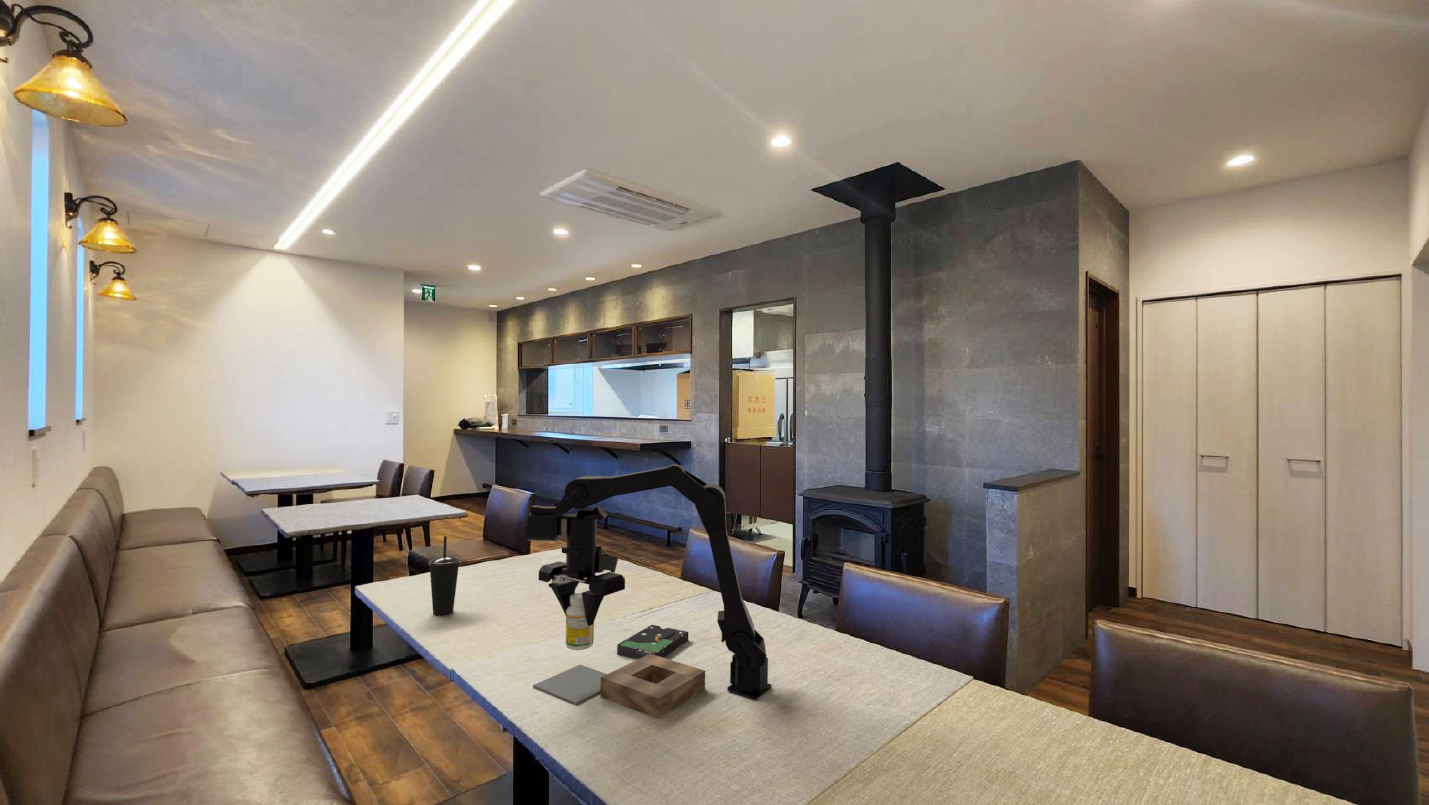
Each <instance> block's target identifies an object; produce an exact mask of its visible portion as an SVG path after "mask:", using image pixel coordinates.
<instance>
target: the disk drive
mask: <svg viewBox="0 0 1429 805" xmlns="http://www.w3.org/2000/svg"><path fill="white" fill-rule="evenodd" d="M688 642H689V631H688V630H680V629H675V628H671V627H667V628H666V627H665V628H662V627H661V626H660V625H656V624H651V625H649V626H647V627H645V628H644V629H642V630H640V631H639V632H637V633H635V634H633V635H631V636H630V637H628V638H627V639H625V640H622V641H621V642H619V643H618V644H616V655H618V656H622V657H625V658H631V659H635V660H638V659H640V658H642V657H644V656H646V655H648V654H653V655H656V656H659V657H663V658H666V657H667V656H669V655H670V654H672V653H673V652H674V651H676V650H677V649H679V648H681V647H682V646H683V645H685V644H686V643H688Z"/></svg>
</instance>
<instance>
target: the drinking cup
mask: <svg viewBox="0 0 1429 805" xmlns="http://www.w3.org/2000/svg"><path fill="white" fill-rule="evenodd" d="M447 538H448V537H447V535H444V536H443V551H442V552H443V553H442V555H440V556H439V555H438V556H436V557H434V558H433V559H430V560H428V565H429V571H430V572H429V574H430V586H431V588H430V589H431V590H430V591H431V603H432V613H433V614H432V615H434V616H439V617H440V616H447V615H451V614H453V613H454V608H455V598H456V591H457V581H458V575H459V565H460V562H461V558H459V557H456V556H454V555H448V554H447Z"/></svg>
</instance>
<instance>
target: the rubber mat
mask: <svg viewBox="0 0 1429 805" xmlns="http://www.w3.org/2000/svg"><path fill="white" fill-rule="evenodd" d="M607 674H608V673H605V672H603V671H600V670H596V669H594V668H591V667H588V666H586V665H583V664H577V665H575V666H572V668H569V669H565V671H562V672H560V673H558V674H556V675H553V676H551V677H547V678H546V679H544V680H542V681H540V682H537V683H535V684H533V685H532V688H534V689H537V690H539V691H541V692H543V693H546V694H548V695H550V694H551V696H553V697H556V698H557V699H560V700H563V701H564V702H567V703H571V704H572V705H575V706H577V705H579V704H581V703H584V702H585V701H587V700H589V699H591V698H593V697H595V696H597V695H599V694H600V687H601V677H602V676H604V675H607ZM596 694H597V695H596Z"/></svg>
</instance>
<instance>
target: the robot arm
mask: <svg viewBox="0 0 1429 805" xmlns="http://www.w3.org/2000/svg"><path fill="white" fill-rule="evenodd" d="M666 487H672V488H673V489H675V490H676V491H677V492H679V493H680V494H681V495H682V496H683V497H684V498H686V499H687V500H688V501H690V502H691V503H693V504H694V506H695V509H696V512H697V514H698V516H699V519H700V522H701V524H702V526H703V528H704V530H705V532H706V533H707V536H708V540H709V545H710V548H711V554H712V558H713V563H714V568H715V571H716V577H717V581H718V585H719V590H720V594H721V595H720V596H721V600H722V602H723V610H718V611H717V621H716V622H717V624H718V628H719V630H720V633H721V643H724V642H725V646H726V648H727V649H728V651H729V652H731V653H732V654H733V655H732V658H731V661H730V665H729V666H730V668H729V669H730V670H729V672H730V673H729V680H730V681H729V684H730V685H729V686H727V689H726V690H727V691H729V692H731V693H733V694H737V695H741V696H743V697H747V698H750V699H753V700H757V699H759V698H760V697H761V696H763V695H764V694H765V693H767V692H768V691H769V690H770V689H772V686H773V685H772V684H771V683H768V682H769V679H768V678H769V658H768V656H767V652H766V651H767V650H766V644H765V643H766V642H765V639H764V637H763V636H762V635H761V634H760V633H759V632H758V631H757V630H756V629H755V624H754V622H753V619H752V617H751V614H750V612H749V609H748V607H747V606H746V603H745V601H744V599H743V596H742V593H741V588H740V584H739V583H740V582H739V578H738V575H737V571H736V570H737V569H736V567H735V566H736V565H735V561H734V558H733V557H734V556H733V553H732V548H731V543H730V540H729V539H730V538H729V534H728V530H727V510H726V509H727V506H726V494H725V491H724V490H723V488H722V487H721V486H719V485H718V484H714V483H706V482H705V481H704V480H702V479H701V478H699V477H698V476H696V475H695V474H693V473H691V472H689V471H688V470H686V469H685V468H684V467H683V466H682V465H680V464H676V463H675V464H674V463H672V464H671V465H669V466H664V467H659V468H654V469H649V470H642V471H638V472H632V473H626V474H621V475H615V476H612V475H611V476H610V475H609V476H606V475H584V476H581V477H577V478H575V479H572V480H570V481H569V482H568V483H567V485H566V486H565V488H564V491H563V492H564V494H563V497H562V499H560V501H559V502H558V503H557V505H556V506H544V505H539V504H538V505H535V504H534V505H532V506H530V508H529V514H528V517H527V520H526V524H525V530H524V531H525V532H524V533H525V537H526V539H527V541H528V542H535V541H536V542H559V541H560V539H561V537H564V536H565V535H566V543H565V544H566V546H562V547H561V553H562V554H565V555H566V556H565V558H566V559H565V562H564V561H559V560H558V561H555V562H552V563H551V562H550V563H547V564H542V566H541V567H540V568H539V570H538V581H539V582H544V583H548V587H549V588H551V590H552V592H553V593H554V596H555V597H556V599H557V600H558V603H559V605H560V607H561V609H562V611H563V613H564V615H565V616H566V610H567V608H568V607H569V606H571V604H570V596H571V595H573V594H576V589H577V587H578V585H579V583H581V584H585V585H588V590H586V591H582V592H580V593H581V594H582V599H583V605H584V610H585V616H586V620H587V624H588V625H589V626H590V625H593V623H594V624H595V620H596V618H597V614H598V612H599V609H600V606H601V604H602V602H603V600H604V598H605V597H606V596H609V595H612V594H614V593H617V592H621V591H624V590H626V578H625V577H624V575H623V574H621V573H615V572H616V569H617V565H618V562H619V556H616V555H615V556H614V555H611V554H607V553H603V551H602V547H601V545H599V544H597V526H598V525H597V522H598V521H597V520H601V521H602V520H604V519H605V518H607V517H608V513H607V512H605V510H603V509H602V507H601V505H596V506H595V507H594V508H593V509H584V508H587V507H590V506H592V505H594V504H597V503H601V502H602V501H605V500H607V499H610V498H613V497H615V496H616V497H617V496H621V495H623V496H624V495H627V494H632V493H633V494H634V493H639V492H645V491H650V490H655V489H660V488H666ZM574 509H577V512H576V513H569V512H570V511H572V510H574ZM604 571H607V572H604ZM603 572H604V573H603ZM596 574H597V575H596ZM549 582H550V583H549Z"/></svg>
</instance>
